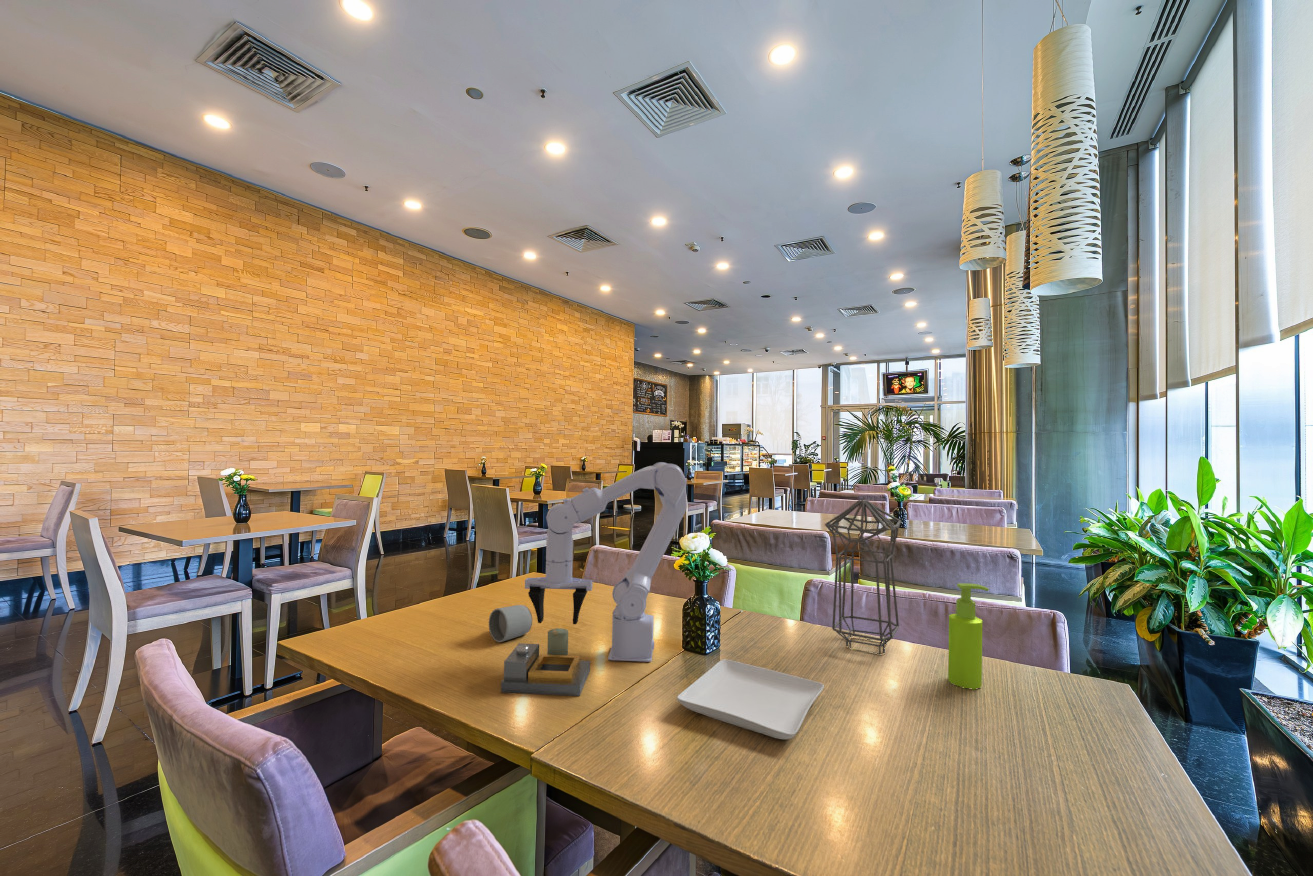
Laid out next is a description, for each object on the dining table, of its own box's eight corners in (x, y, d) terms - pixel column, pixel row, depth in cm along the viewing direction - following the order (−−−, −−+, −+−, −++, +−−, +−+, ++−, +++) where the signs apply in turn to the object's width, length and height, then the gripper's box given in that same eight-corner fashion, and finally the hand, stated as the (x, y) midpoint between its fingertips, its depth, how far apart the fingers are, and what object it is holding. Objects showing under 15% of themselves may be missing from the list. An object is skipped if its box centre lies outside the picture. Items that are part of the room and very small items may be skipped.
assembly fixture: (589, 670, 110) (590, 638, 110) (579, 696, 99) (580, 660, 99) (518, 667, 110) (519, 635, 110) (500, 692, 99) (501, 657, 99)
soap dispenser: (992, 691, 103) (993, 589, 104) (953, 687, 105) (955, 587, 105) (980, 678, 109) (981, 581, 109) (944, 675, 111) (945, 579, 111)
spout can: (569, 655, 117) (570, 621, 117) (563, 666, 111) (564, 630, 111) (550, 655, 117) (550, 620, 117) (543, 666, 112) (543, 629, 112)
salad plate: (825, 699, 100) (826, 681, 100) (793, 755, 82) (794, 733, 82) (722, 672, 111) (722, 656, 111) (673, 717, 92) (674, 697, 92)
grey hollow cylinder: (534, 636, 128) (535, 604, 128) (506, 646, 122) (506, 612, 122) (508, 627, 135) (508, 596, 135) (480, 635, 129) (480, 604, 129)
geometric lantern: (896, 666, 115) (894, 505, 115) (823, 651, 123) (821, 501, 123) (905, 642, 128) (903, 498, 129) (838, 630, 137) (837, 495, 137)
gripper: (521, 562, 112) (519, 627, 111) (589, 565, 111) (587, 629, 111) (530, 555, 119) (529, 616, 118) (594, 557, 118) (593, 618, 118)
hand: (557, 622), depth 115 cm, fingers open, 7 cm apart
